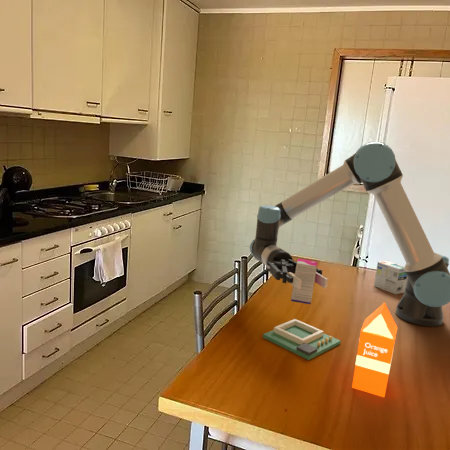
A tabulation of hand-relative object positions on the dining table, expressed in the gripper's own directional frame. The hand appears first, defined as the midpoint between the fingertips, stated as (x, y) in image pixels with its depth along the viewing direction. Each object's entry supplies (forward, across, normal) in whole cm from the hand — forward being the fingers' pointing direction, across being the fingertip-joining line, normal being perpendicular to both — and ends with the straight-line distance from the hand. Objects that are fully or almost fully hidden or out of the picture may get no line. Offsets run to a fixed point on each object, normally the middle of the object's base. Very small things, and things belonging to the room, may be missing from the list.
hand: (313, 284), depth 123 cm
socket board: (-2, 0, -18) cm, 18 cm away
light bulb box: (-38, -60, -18) cm, 73 cm away
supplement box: (-5, 0, -7) cm, 8 cm away
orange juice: (+22, -6, -18) cm, 29 cm away
